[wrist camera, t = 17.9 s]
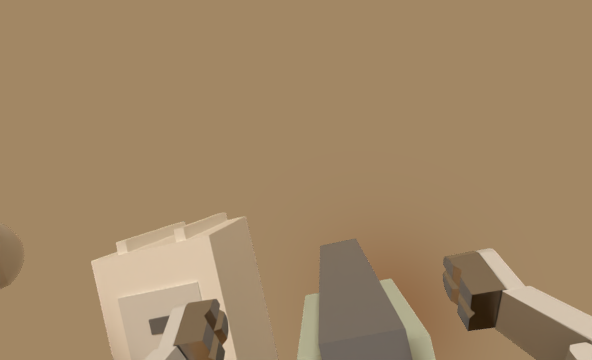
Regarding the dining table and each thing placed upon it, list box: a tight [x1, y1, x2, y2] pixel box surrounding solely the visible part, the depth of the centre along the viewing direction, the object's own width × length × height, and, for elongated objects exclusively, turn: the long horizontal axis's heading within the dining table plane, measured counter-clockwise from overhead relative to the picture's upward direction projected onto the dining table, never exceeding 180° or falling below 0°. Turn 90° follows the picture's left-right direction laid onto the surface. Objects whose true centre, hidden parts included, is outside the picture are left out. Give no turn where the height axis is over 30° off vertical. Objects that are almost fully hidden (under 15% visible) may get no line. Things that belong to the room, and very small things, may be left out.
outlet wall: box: [91, 212, 278, 360], centre depth 36 cm, size 14×12×32 cm
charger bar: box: [318, 239, 413, 360], centre depth 24 cm, size 20×4×3 cm, turn 175°
